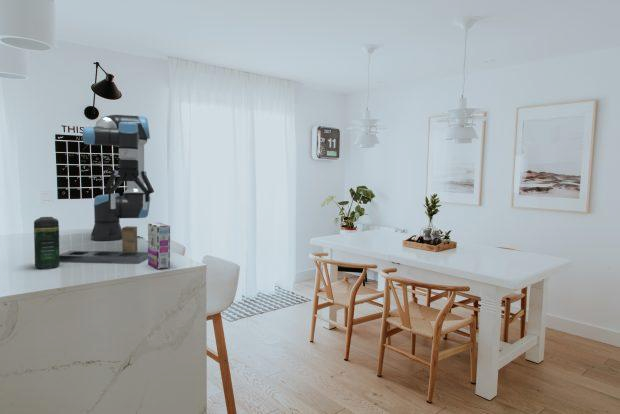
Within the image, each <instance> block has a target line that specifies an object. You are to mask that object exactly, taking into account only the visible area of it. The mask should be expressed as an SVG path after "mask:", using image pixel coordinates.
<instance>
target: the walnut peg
mask: <svg viewBox="0 0 620 414" xmlns="http://www.w3.org/2000/svg"><path fill="white" fill-rule="evenodd" d="M121 229H122V239H121V243H122V244H121V245H122V246H121V249H122V251H121V252H138V227H137V226H132V225H131V226H128V225H126V226H124V227H121Z"/></svg>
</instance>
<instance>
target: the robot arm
mask: <svg viewBox="0 0 620 414" xmlns="http://www.w3.org/2000/svg"><path fill="white" fill-rule="evenodd" d="M81 133H82V134H81V135H82V142H83V143H84V145H90V146H117V147H118V158H119V160H118V170H115V169H113V170H111V172H110V176H109V178H108V180H107V183H106V185H105V186H104V189H103V193H106V194H100V195H97V196H95V197H94V199H93V208H94V211H93V213H94V214H93V215H94V224H93V228H92V231H91V234H90V240H91V241H96V242H97V241H98V242H99V241H101V242H105V241H109V242H111V241H118V240H122V227H121V224H120V222H121V221H120V219H145V218H147V217H149V212H150V205H151V196H150V195H151V194H153V193H155V191H154V188H153V187H152V184H151V182H150V180H149V179H148V177H147V172H146V170H145V145H146V144H147V143H148V140H149V139H151V134H150V129H149V122H148V118H147V117H145V116H140V115H126V114H110V115H106V116H103V117H101V118H99V119H97V120H96V122H95V125H94V126H93V127H92V126H84V127H83V128H82V132H81ZM117 176H119V178H117V180H116V177H117ZM115 180H116V182H115ZM114 182H115V183H114ZM123 182H126V190H124V192H123V195H120V193H117V192H116V193H115V191H116V190H117V189H118V188H119V187H120V186H121V185H122V184H123Z"/></svg>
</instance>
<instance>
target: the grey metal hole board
mask: <svg viewBox="0 0 620 414" xmlns="http://www.w3.org/2000/svg"><path fill="white" fill-rule="evenodd" d="M59 254H60V263H86V264H87V263H91V264H92V263H94V264H95V263H97V264H132V265H133V264H136V265H139V264H141V263H143V262H144V261H146V260H148V251H147V252H145V251H137V252H122V251H110V250H109V251H106V250H104V251H103V250H68V251H65V252H63V253H59Z"/></svg>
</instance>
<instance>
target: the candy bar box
mask: <svg viewBox="0 0 620 414" xmlns="http://www.w3.org/2000/svg"><path fill="white" fill-rule="evenodd" d="M170 246H171V225H169V224H165V223H161V222H148V223H147V252H148V259H147V265H149V266H151V267H153V268H155V269H156V270H165V269H170V268H171V267H170V263H171V262H170V261H171V259H170V258H171V257H170V256H171V253H170V251H171V249H170V248H171V247H170Z"/></svg>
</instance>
